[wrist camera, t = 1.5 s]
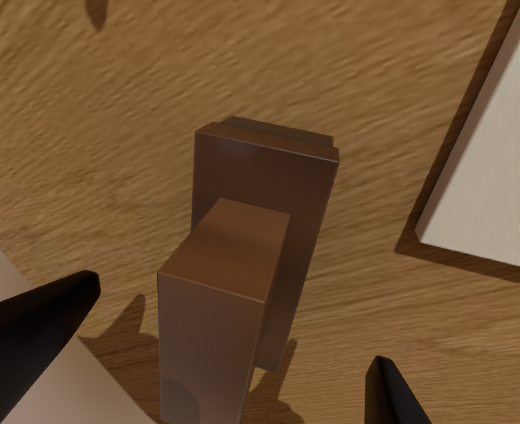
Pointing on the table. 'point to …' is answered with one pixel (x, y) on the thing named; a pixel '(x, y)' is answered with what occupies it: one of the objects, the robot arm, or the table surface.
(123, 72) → the table surface
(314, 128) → the table surface
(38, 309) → the robot arm
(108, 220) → the table surface
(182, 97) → the table surface
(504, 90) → the tile
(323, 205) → the brown stepped block
